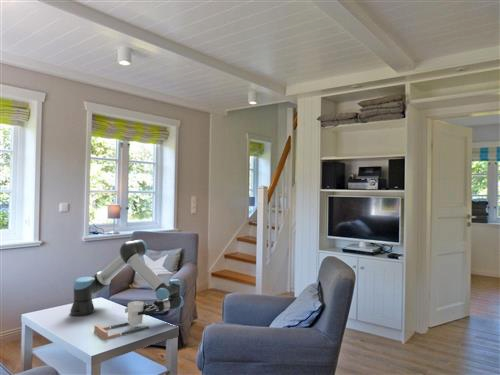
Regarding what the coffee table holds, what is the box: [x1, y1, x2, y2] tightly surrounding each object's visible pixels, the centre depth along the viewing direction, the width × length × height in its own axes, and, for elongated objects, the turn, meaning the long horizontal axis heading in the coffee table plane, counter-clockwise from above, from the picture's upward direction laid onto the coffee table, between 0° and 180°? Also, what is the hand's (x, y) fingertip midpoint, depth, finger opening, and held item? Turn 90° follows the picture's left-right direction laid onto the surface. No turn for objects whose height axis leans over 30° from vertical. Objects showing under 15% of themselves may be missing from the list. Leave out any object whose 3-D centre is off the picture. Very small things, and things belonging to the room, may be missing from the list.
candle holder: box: [127, 300, 145, 326], centre depth 232 cm, size 10×10×12 cm
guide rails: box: [110, 321, 150, 336], centre depth 229 cm, size 16×17×2 cm
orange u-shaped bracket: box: [93, 324, 122, 341], centre depth 220 cm, size 16×9×4 cm, turn 43°
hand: (128, 312), depth 229 cm, fingers closed on candle holder, 9 cm apart
